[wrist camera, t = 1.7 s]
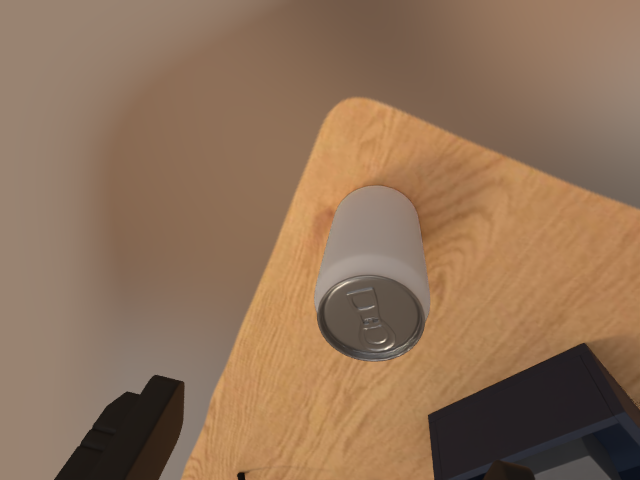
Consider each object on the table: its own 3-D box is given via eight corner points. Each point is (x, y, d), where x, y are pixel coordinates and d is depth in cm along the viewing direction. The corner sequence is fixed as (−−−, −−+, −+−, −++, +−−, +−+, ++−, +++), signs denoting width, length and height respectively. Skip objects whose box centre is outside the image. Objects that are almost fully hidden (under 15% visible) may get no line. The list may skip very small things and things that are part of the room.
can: (349, 267, 35) (332, 375, 24) (322, 196, 32) (290, 284, 22) (427, 248, 33) (446, 357, 23) (406, 172, 31) (416, 255, 20)
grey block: (566, 403, 37) (589, 455, 33) (606, 448, 39) (633, 503, 35) (494, 433, 40) (507, 484, 36) (534, 473, 42) (552, 527, 37)
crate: (584, 342, 35) (625, 411, 29) (671, 449, 39) (724, 529, 33) (427, 415, 42) (434, 484, 35) (516, 500, 46) (536, 575, 39)
